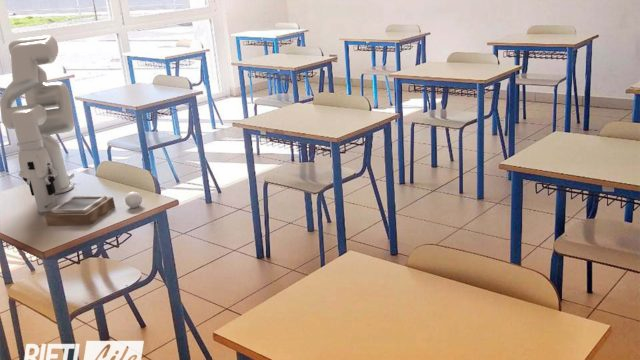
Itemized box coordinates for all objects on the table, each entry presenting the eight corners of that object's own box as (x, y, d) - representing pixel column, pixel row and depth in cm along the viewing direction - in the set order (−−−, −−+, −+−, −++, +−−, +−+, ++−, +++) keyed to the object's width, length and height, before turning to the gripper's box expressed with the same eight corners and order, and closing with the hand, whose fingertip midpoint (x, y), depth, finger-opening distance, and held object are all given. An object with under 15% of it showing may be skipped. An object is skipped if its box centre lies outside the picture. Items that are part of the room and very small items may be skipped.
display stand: (75, 207, 229) (72, 194, 227) (115, 207, 224) (112, 194, 223) (47, 225, 214) (43, 212, 212) (89, 225, 210) (86, 211, 208)
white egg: (145, 207, 221) (141, 192, 220) (128, 211, 219) (125, 196, 217) (140, 201, 228) (137, 186, 226) (124, 205, 226) (121, 190, 224)
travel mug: (51, 214, 224) (38, 160, 218) (35, 214, 226) (21, 160, 219) (61, 207, 230) (49, 154, 224) (45, 208, 232) (32, 155, 225)
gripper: (2, 149, 219) (16, 198, 225) (45, 147, 215) (58, 197, 220) (17, 142, 226) (30, 190, 232) (59, 141, 221) (71, 190, 227)
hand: (43, 193), depth 226 cm, fingers closed on travel mug, 6 cm apart
